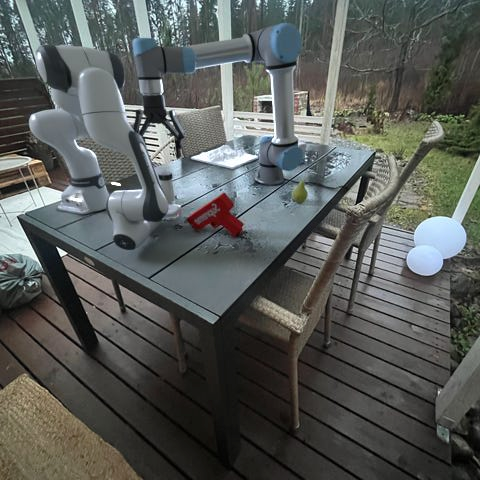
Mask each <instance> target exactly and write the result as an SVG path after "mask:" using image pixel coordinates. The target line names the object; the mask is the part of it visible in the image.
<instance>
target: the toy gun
mask: <svg viewBox="0 0 480 480" xmlns="http://www.w3.org/2000/svg"><path fill="white" fill-rule="evenodd" d="M234 207H235V203H234V202H233V201H232V199H231V198H230V197H229V196H228V194H227V193H226V192H222V193H221V194H219V195H218V196H216V197H214V198H213V199H211V200H210V201H208V202H207V203H205V204H204V205H202V206H201V207H200V208H198V209H197V210H195V211H193V212H192V213H190V215H189V216H188V217H187V218H186V221H187V223H188V224H189V225H190V226H191V228H192V229H193V231H197V232H198V231H200V230H202V229H203V228H205V227H207V226H208V225H210V226H211V228H212V229H217V228H219V227H220V226H221V227H223V228H224V229H225V230H226V231H227V232H229V234H231V237H232V238H234V237H235V236H240V235H241V233H242V231H243V230H244V229H243V227H244V225H245V223H244V222H243V221H241V220H240V219H239V218H237V217H236V216H235V215H234V214H233V213H232V212H231V210H232V209H233V208H234Z"/></svg>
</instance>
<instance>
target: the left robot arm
mask: <svg viewBox="0 0 480 480" xmlns="http://www.w3.org/2000/svg"><path fill="white" fill-rule="evenodd" d="M35 65H36V69H37V71H38V74H39V75H40V78H41V79H42V81H43V82H44V84H46V85H47V86H48V87H50V88H51V89H50V92H51V99H52V100H53V102H54V103H55V105H56V106H58V107H59V108H54V109H45V110H41V111H38V112H34V113H32V114H31V115H30V117H29V119H28V126H29V129H30V132H31V134H32V135H33V136H34V137H35V138H36V139H37V140H38V141H40V142H42V143H44V144H46V145H48V146H50V147H52V148H54V149H55V150H56V151H57V152H58V153H59V154H60V155H61V156H62V158H63V159H64V162H65V163H66V166H67V168H68V171H69V174H70V175H69V176H68V177H66V178H65V180H66V182H68V181H69V185H68V186H67V187H66V188H65V189H64V190H63V191H62V192H61V194H60V200H61V202H60V204H58V205H57V210H58V211H62V212H67V213H73V214H78V215H87V214H91V213H94V212H99V211H103V210H105V211H106V213H107V216H108V218H109V219H110V221H111V223H112V225H113V233H112V241H113V243H114V244H115V246H117V248H120V249H122V250H125V251H133V250H134V251H135V250H137V249H139V248H140V247H142V245H143V244H144V243H145V242H146V240H148V239H149V237H150V234H152V233H153V232H154V231H155V230H156V228H158V226H159V225H160V223H161V222H167V223H168V222H169V223H173V222H176V221H177V220H178V219H179V218H180V217H181V216H182V215H183V207H182V206H181V205H180V204H176V205H175V203H176V200H175V201H171V202H170V204H168V200H167V198H166V195H165V194H164V192H163V190H162V187H161V182H160V179H159V177H158V176H157V175H158V174H157V173H156V168H155V166H154V164H153V161H152V158H151V156H150V153H149V149H148V148H146V146H147V144H146V145H145V143H144V141H143V139H142V138H143V137H141V136H140V134H139V132H138V133H137V132H135V131H134V130H133V127H132V126H131V124H130V122H129V120H128V116H127V113H126V108H125V104H124V101H123V98H122V95H121V92H120V91H121V90H122V89H123V88H124V86H125V83H126V71H125V67H124V64H123V62H122V60H121V59H120V57H119V56H118V55H117V54H116V53H114V52H111V51H110V50H109V51H108V50H106V49H103V50H100V49H97V48H93V47H87V46H82V45H80V46H75V45H71V44H60V45H55V44H53V43H47V44H41V45H39V46H38V47H37V49H36V52H35ZM88 138H91V139H92V140H93V141H94V142H95V143H96V144H98V145H99V146H101V147H103V148H105V149H108V150H112V151H114V152H118V153H120V154H122V155H124V156H125V157H127V158H128V159H129V160H130V161H131V163H132V165H133V168H134V170H135V172H136V175H137V178H138V180H139V181H138V182H139V183H140V186H141V189H124V190H114V191H112V192H111V193H109V190H108V188H107V186H106V183H105V178H104V175H103V172H102V170H101V168H100V164H99V161H98V158H97V155H96V154H95V153H94V151H93V150H92V149H91V150H90V149H88V148H85V147H81V146H79V145H78V144H77V140H82V139H88ZM111 185H115V186H120V187H121V183H119V182H115V181H112V182H111Z"/></svg>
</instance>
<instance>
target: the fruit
mask: <svg viewBox="0 0 480 480" xmlns="http://www.w3.org/2000/svg"><path fill="white" fill-rule="evenodd" d="M310 177H311V175H310V174H309V175H308V176H307V177H305V179H302V180H301V181H299V182H300V183H297V185H296V186H295V187H294V188H293V190H292V191H291V198H292V200H293V201H294V202H295V203H297V204H301V203H304V202H305V201H306V200H307V198H308V196H309V195H308V190H307V189H306V183H305V182H306V180H308V179H309V178H310Z"/></svg>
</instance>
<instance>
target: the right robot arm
mask: <svg viewBox="0 0 480 480" xmlns="http://www.w3.org/2000/svg"><path fill="white" fill-rule="evenodd" d="M157 42H158V41H157V40H156V39H155V38H153V37H136V38H133V40H132V41H131V45H132V49H133V50H132V52H133V58H134V64H135V69H136V74H137V79H138V86H139V92H140V94H142V95H141V103H142V107H143V109H141V108H138V109H136V110H135V119H134V123H133V127H132V129H133V130H134V131H135V132H137V133H139V134H140V136H141V137H142V139H143V141H144V143H145V145H146V148H147V141H146V137H144V135H145V134H146V132H147V130H148V129H149V127H150V125H154V124H157V125H163V126H164V127H165V128H166V129H167V131H168V132H169V133H170V134H171V135H172V136H173V137H174V138H175V140H174V147H175V154H176V159H178V160H179V159H180V158H182V151H181V150H182V148H183V139H185V138H186V137H187V134H186V133H185V132H186V131H184V129H183V126H182V125H181V123H180V121H179V119H178V118H177V116H176V110H175V109H170V110H167V108H166V101H165V95H164V94H163V93H164V86H163V80H162V74H163V75H165V74H172V75H173V74H174V75H175V74H177V75H178V74H184V75H187V74H193V73H194V74H195V71H196V70H197V69H203V68H208V67H215V66H220V65H227V64H232V63H238V62H245V63H247V64H250V63H265V67H266V68H265V69H266V72H267V73H269V75H270V83H271V85H270V86H271V98H272V99H271V100H272V115H273V127H274V134H266V135H262V136H260V138H259V143H258V145H259V153H258V156H259V158H258V167H257V171H256V172H255V173H254V175H255V178H254V181H255V183H258V184H259V185H262V186H263V185H264V186H279V185H281V184H283V183H284V181H286V182H291V183H295V184H299V183H300V182H301V181H296V180H292V179H288V178H285V175H284V172H283V171H286V172H292V171H294V170H296V169H297V168H298V167H299V165H301V164H302V163H301V162H302V159H303V151H302V149H301V148H300V147H299V146H298V143H299V137H298V136H297V135H296V134H295V106H294V105H295V104H294V103H295V100H294V70H295V69H296V67H297V66H298V65H297V63H298V61H297V60H298V58H299V56H300V54H301V52H302V49H303V37H302V34H301V32H300V29H299V28H298V27H297V26H296V25H294V24H293V23H290V22H280V23H277V24H274V25H271V26H266V27H264V28H260V29H259V30H256V31H252V32H249V33H244V34H242V37H237V38H230V39H224V40H217V41H210V42H204V43H197V44H191V45H185V46H162V45H161V46H160V45H158V43H157ZM143 116H144V117H145V120H144V122H143V125H142V126H141V124H142V121H143ZM167 116H168V118H170V121H171V122H172V124H171V122H170V121H169V119H168V118H167ZM147 149H148V148H147ZM300 163H301V164H300ZM305 184H311V185H312V184H313V185H318V186H321V187H323V188H326V189H331V190H336V189H338V188H334V186H333V187H332V186H327V185H324V184H322V183H319V182H313V181H305ZM338 187H340V188H345V189H346V190H349V188H348V186H346V185H339V186H338Z"/></svg>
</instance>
